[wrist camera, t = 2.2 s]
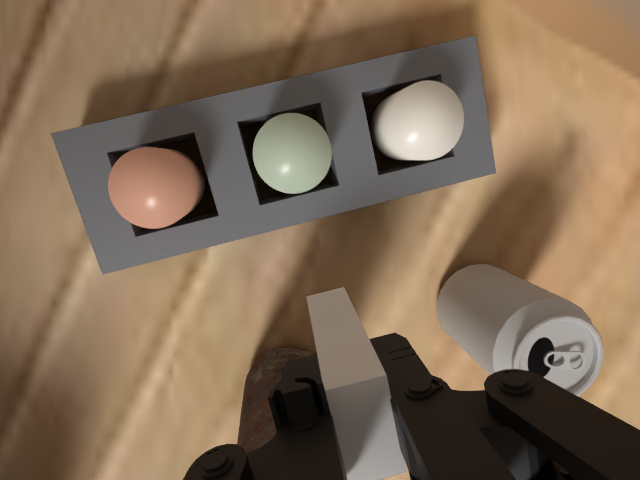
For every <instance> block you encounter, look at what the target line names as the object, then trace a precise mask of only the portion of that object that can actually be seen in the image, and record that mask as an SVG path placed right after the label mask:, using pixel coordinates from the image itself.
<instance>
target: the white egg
mask: <svg viewBox="0 0 640 480" xmlns="http://www.w3.org/2000/svg"><path fill="white" fill-rule="evenodd" d="M463 125H464V112H463V107H462V105H461V102H460V100H459V98H458V97H457V95H456V94H455V93H454V91H453V90H452V89H450V88H449V87H448V86H446V85H445V84H442V83H440V82H437V81H431V80H426V81H420V82H417V83H414V84H412V85H410V86H408V87H406V88H404V89H402V90H400V91H398V92H396V93H394V94H393V95H391V96H389V97H387V98H385V99H384V100H383V101H382V102H381V103H380V104H379V105H378V106H377V107H376V109H375V111H374V113H373V115H372V118H371V124H370V131H371V137H372V140H373V142H374V144H375V146H376V147H377V149H378V150H379V151H380V152H381V153H382V154H384V155H385V156H387V157H389V158H391V159H395V160H433V159H436V158H439V157H441V156H443V155H445V154H446V153H448V152H449V151H450V150H451V149H452V148H453V147H454V146H455V145H456V143H457V142H458V140H459V138H460V136H461V133H462V130H463Z"/></svg>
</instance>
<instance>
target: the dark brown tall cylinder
mask: <svg viewBox="0 0 640 480" xmlns="http://www.w3.org/2000/svg"><path fill="white" fill-rule="evenodd" d="M310 355H314V354H313V353H311V352H309V351H306V350H299V349H294V348H278V349H274V350H271V351H268V352H267V353H266V354H264V355H262V356H261V357H260V358H259V359H258V360H257V361H256V362H255V364H254V365H253V366H252V368H251V369H250V371H249V373H248V375H247V378H246V382H245V387H244V394H243V402H242V409H241V418H240V427H239V434H238V443H237V445H239V446H241V447H243V448H244V450H245V452H246V454H248V453H250V452H251V451H253V450H255V449H257V448H259V447H261V446H263V445H264V444H266V443H267V442H268V441H270V440H271V439H272V438H273V437H274V436H275V435H276V426H275V423H274V419H273V416H272V412H271V409H270V405H269V402H268V395H269V392H270V391H271V390H272V388H273V387H274V386H275V385H276V384H278V383H280V382H281V371H282V369H283V368H284V366H285V364H286V363H287V361H290V360H294V359H298V358H302V357H306V356H310Z"/></svg>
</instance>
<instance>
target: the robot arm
mask: <svg viewBox="0 0 640 480" xmlns="http://www.w3.org/2000/svg"><path fill="white" fill-rule="evenodd" d="M306 298H307V303H308V308H309V314H310V319H311V324H312V330H313V335H314V340H315V346H316V351H317V354H314V355H310V356H306V357H302V358H298V359H294V360H290V361H287V363H286V364H285V366H284V368H283V369H282V371H281V382H280V383H278V384H276V385H275V386H274V387H273V388H272V390H271V391H270V392H269V395H268V402H269V405H270V409H271V412H272V416H273V419H274V423H275V426H276V435H275V436H274V437H273V438H272V439H271V440H270V441H268V442H267V443H266V444H264V445H263V446H261V447H259V448H257V449H255V450H253V451H251V452H250V453H248V454H246V452H245V450H244V448H243V447H241V446H239V445H237V444H225V445H221V446H217V447H215V448H213V449H210V450H208V451H206V452H205V453H204V454H202V455H201V456H200V457H199V458H197V459H196V460H195V462H194V463H193V464H192V465H191V467H190V468H189V470H188V471H187V473H186V475H185V477H184V478H183V480H379V479H383V478H387V477H390V476H394V475H398V474H402V473H405V472H407V470H406V466H405V462H406V465H407V467H408V470H409V474H410V479H411V480H640V430H639V429H637V428H635V427H633V426H631V425H629V424H628V423H626V422H624V421H622V420H620V419H618V418H617V417H615V416H613V415H611V414H609V413H607V412H606V411H604V410H602V409H600V408H598V407H597V406H595V405H593V404H591V403H589V402H587V401H586V400H584V399H582V398H580V397H578V396H576V395H575V394H573V393H571V392H569V391H567V390H566V389H564V388H562V387H560V386H558V385H556V384H555V383H553V382H551V381H549V380H547V379H545V378H544V377H542V376H540V375H538V374H535V373H533V372H530V371H527V370H520V369H506V370H501V371H498V372H494V373H493V374H491V375H490V376H488V377H487V379H486V381H485V383H484V387H485V390H482V391H458V390H452V389H450V387H449V386H448V384H447V383H446V382H444V381H443V380H442V379H441V378H438V377H435V376H432V375H431V374H430V373H429V371H428V370H427V368H426V367H425V365H424V364H423V362H422V361H421V359H420V358H419V356H418V355H417V354H416V352H415V351H414V349H413V348H412V346H411V345H410V343H409V342H408V340H407V339H406V338H405V337H403V336H401V335H399V334H397V333H392V334H388V335H384V336H380V337H376V338H372V339H369V338H368V336H367V334H366V331H365V329H364V327H363V325H362V323H361V321H360V319H359V317H358V315H357V313H356V311H355V309H354V307H353V305H352V302H351V300H350V298H349V296H348V294H347V292H346V290H345V288H344V287H342V288H338V289H334V290H330V291H326V292H322V293H318V294H314V295H310V296H306ZM404 460H405V461H404Z"/></svg>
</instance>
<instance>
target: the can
mask: <svg viewBox="0 0 640 480" xmlns="http://www.w3.org/2000/svg"><path fill="white" fill-rule="evenodd" d="M437 317H438V319H439V322H440V324H441V327H442V328H443V329H444V331H445V332H446V333H447V334H448V335H449V336H450V337H451V338H452V339H453V340H454V341H455V342H456V343H457V344H458V345H459V346H460V347H461V348H462V349H463V350H465V351H466V352H467V353H468V354H469V355H470V356H471V357H472V358H473V359H474V360H475V361H476V362H477V363H478V364H479V365H480V366H481V367H482V368H483V369H484V370H485V371H486V372H487V373H488V374H489V375H491V374H493V373H494V372H498V371H501V370H506V369H520V370H527V371H530V372H533V373H535V374H538V375H540V376H542V377H544V378H545V379H547V380H549V381H551V382H553V383H555V384H556V385H558V386H560V387H562V388H564V389H566V390H567V391H569V392H571V393H573V394H575V395H576V396H580V395H581V394H582V393H583V392H584V391H585V390H587V389H588V388H589V387H590V386H591V385H592V383H593V382H594V380H595V379H596V377H597V375H598V374H599V371H600V368H601V365H602V362H603V343H602V340H601V337H600V333H599V332H598V331H597V330H596V328H595V327H594V326H593V325H592V322H591V319H590V318H589V317H588V316H587V314H586V313H585V312H584V311H583V309H582V308H581V307H579V306H577V305H575V304H574V303H572V302H570V301H568V300H566V299H564V298H562V297H560V296H558V295H556V294H553V293H551V292H549V291H547V290H545V289H543V288H541V287H538V286H536V285H534V284H532V283H530V282H528V281H525V280H523V279H521V278H519V277H517V276H515V275H513V274H510V273H508V272H506V271H504V270H502V269H500V268H498V267H495V266H493V265H487V264H475V265H468V266H466V267H464V268H462V269H460V270H458V271H456V272H455V273H454V274H453V275H452V276H451V277H450V278H449V279H448V280H447V281H446V282H445V284H444V286H443V287H442V289H441V291H440V293H439V297H438V301H437Z"/></svg>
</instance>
